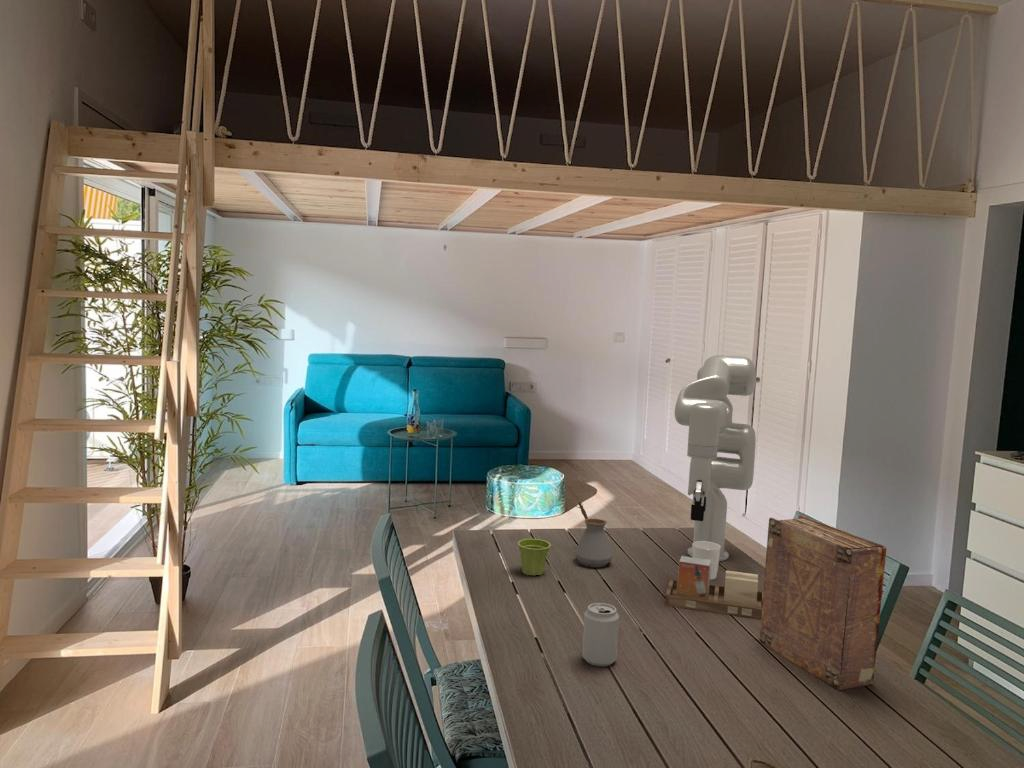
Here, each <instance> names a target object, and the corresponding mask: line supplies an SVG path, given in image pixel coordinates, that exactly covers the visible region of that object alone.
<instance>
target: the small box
mask: <svg viewBox="0 0 1024 768" xmlns="http://www.w3.org/2000/svg"><path fill="white" fill-rule="evenodd" d="M710 572H711V560H709V559H699V558H692V557H691V556H685V555H681V556H680V559H679V561H678V570H677V579H678V581H677V593H676V596H680V597H687V598H695V599H702V600H708V597H709V585H710V584H711V583H710V582H711V580H710Z"/></svg>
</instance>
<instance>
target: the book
mask: <svg viewBox="0 0 1024 768" xmlns="http://www.w3.org/2000/svg"><path fill="white" fill-rule="evenodd" d="M767 528H768V529H767V542H766V551H765V553H766V557H765V565H764V568H765V569H764V580H763V582H764V583H763V590H762V591H763V604H762V617H761V619H760V633H759V643H761V644H762V645H764V646H765V647H767V648H768V649H770V650H772V651H773V652H775V653H777V654H779V655H780V656H782V657H784V658H785V659H787V660H788V661H790V662H791V663H793V664H795V665H796V666H798V667H800V668H802V669H803V670H805V671H806V672H808V673H809V674H811V675H813V676H814V677H816V678H818V679H820V680H821V681H823V682H825V683H826V684H828V685H829V686H830V687H833V688H834V689H836V690H837V691H844V690H848V689H854V688H860V687H865V686H870V685H873V684H874V679H875V678H874V676H875V669H876V666H875V665H876V658H877V657H876V656H877V648H878V639H879V630H880V629H879V626H880V618H881V607H882V606H881V605H882V599H883V598H882V597H883V590H884V589H883V588H884V578H885V569H886V568H885V567H886V556H887V547H886V546H885V545H882V544H880V543H877V542H874V541H871V540H868V539H866V538H863V537H860V536H858V535H856V534H852V533H850V532H847V531H844V530H842V529H840V528H836V527H834V526H831V525H828V524H826V523H823V522H820V521H817V520H815V519H813V518H810V517H807V516H804V515H799V516H798V518H793V519H791V518H790V519H776V518H774V517H769V519H768V527H767Z"/></svg>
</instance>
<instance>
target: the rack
mask: <svg viewBox="0 0 1024 768" xmlns="http://www.w3.org/2000/svg"><path fill="white" fill-rule="evenodd" d="M677 581H678V578H670V579H669V582H668V584H667V585H668V586H667V588H666V592H665V595H664V606H667V607H674V608H679V609H688V610H695V611H699V612H700V611H701V612H708V613H709V612H710V613H715V614H724V615H728V616H729V615H730V616H737V617H741V618H742V617H743V618H749V619H757V620H761V617H762V604H763V591H764V590H758V589H757V603H756V607H751V606H744V605H737V604H730V603H724V591H725V585H722V584H714V583H710V585H709V597H708V600H702V599H695V598H687V597H680V596H676V593H677Z"/></svg>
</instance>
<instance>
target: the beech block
mask: <svg viewBox="0 0 1024 768" xmlns="http://www.w3.org/2000/svg"><path fill="white" fill-rule="evenodd" d="M724 586H725V591H724V603H730V604H737V605H744V606H751V607H756V603H757V590H758V589H759V587H758V586H759V574H756V573H747V572H740V571H739V572H738V571H733V570H731V571H730V570H725V580H724Z"/></svg>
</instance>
